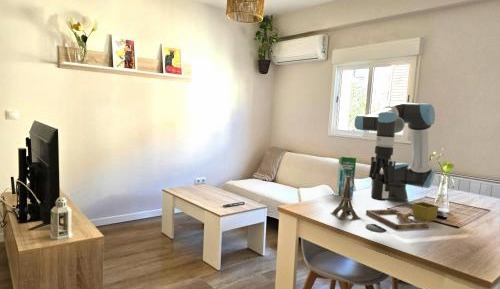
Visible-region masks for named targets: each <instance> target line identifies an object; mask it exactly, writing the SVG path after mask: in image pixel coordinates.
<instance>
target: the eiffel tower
mask: <svg viewBox="0 0 500 289" xmlns="http://www.w3.org/2000/svg"><path fill="white" fill-rule="evenodd" d="M346 179H347V180H346V185H345V190H344V194H343V195H341V197H340V198H341V201H340V203H339V204H338V206H337V207H336V208H335V209H334V210H333V211H332V212H331V213H330V214H331V215H332V216H338V215H339V212H340V211H342V212H340V213H341V214H340V215H339V217H338V218H337V219H339V220H340V221H347V219H346V215H349V216H350V215H351V218H352V219H353V220H354V221H356V220H357V221H358V220H361V219H360V218H359V217H358V215H357V213H356V212H355V210H354V206H353V205H352V200H353V199H352V197H351V196H350V179H351V177H350V176H349V174H348V176H346Z"/></svg>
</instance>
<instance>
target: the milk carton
mask: <svg viewBox="0 0 500 289" xmlns="http://www.w3.org/2000/svg"><path fill="white" fill-rule="evenodd" d="M356 163H357V158H356V157H351V156H347V155H344V156H341V157H339V159H338V168H337V180H336V181H337V182H336V191H335V192H336V193H337V194H338V196H343V194H344V190H345V185H346V180H347V179H346V176H348V174H349V176H350V177H351V179H350V197H353V196H354V188H355V186H354V185H355V176H356V175H355V174H356V166H357V164H356Z"/></svg>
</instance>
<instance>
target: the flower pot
mask: <svg viewBox="0 0 500 289" xmlns="http://www.w3.org/2000/svg"><path fill="white" fill-rule="evenodd" d="M411 205H412V216H413V218H414V219H416V220H419V221H422V222H423V223H429V222H433V221H434V220H435V219H436V217H437V216H438V215H437V214H438V210H439V206H438V205H435V204H432V203H428V202H426V201H420V202H412V203H411Z"/></svg>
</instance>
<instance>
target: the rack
mask: <svg viewBox="0 0 500 289" xmlns="http://www.w3.org/2000/svg"><path fill="white" fill-rule="evenodd" d="M397 212H398V210H397V209H396V208H394V209H393V208H391V209H366V211H365V213H366V216H369V217H371V218H372V219H374V220H377V221H378V222H381V223H383V224H385V225H387V226H389V227H391V228H392V229H394V230H396V231H397V230H412V229H413V230H414V229H428V228H429V227H430V223H429V222H420V221H417V220H414V219H413V218H410V222H411V223H396V222H394V221H392V220H389V219H387V218H385V217H383V216H381V215H389V214H390V215H393V214H395V215H397ZM412 222H413V223H412Z"/></svg>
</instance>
